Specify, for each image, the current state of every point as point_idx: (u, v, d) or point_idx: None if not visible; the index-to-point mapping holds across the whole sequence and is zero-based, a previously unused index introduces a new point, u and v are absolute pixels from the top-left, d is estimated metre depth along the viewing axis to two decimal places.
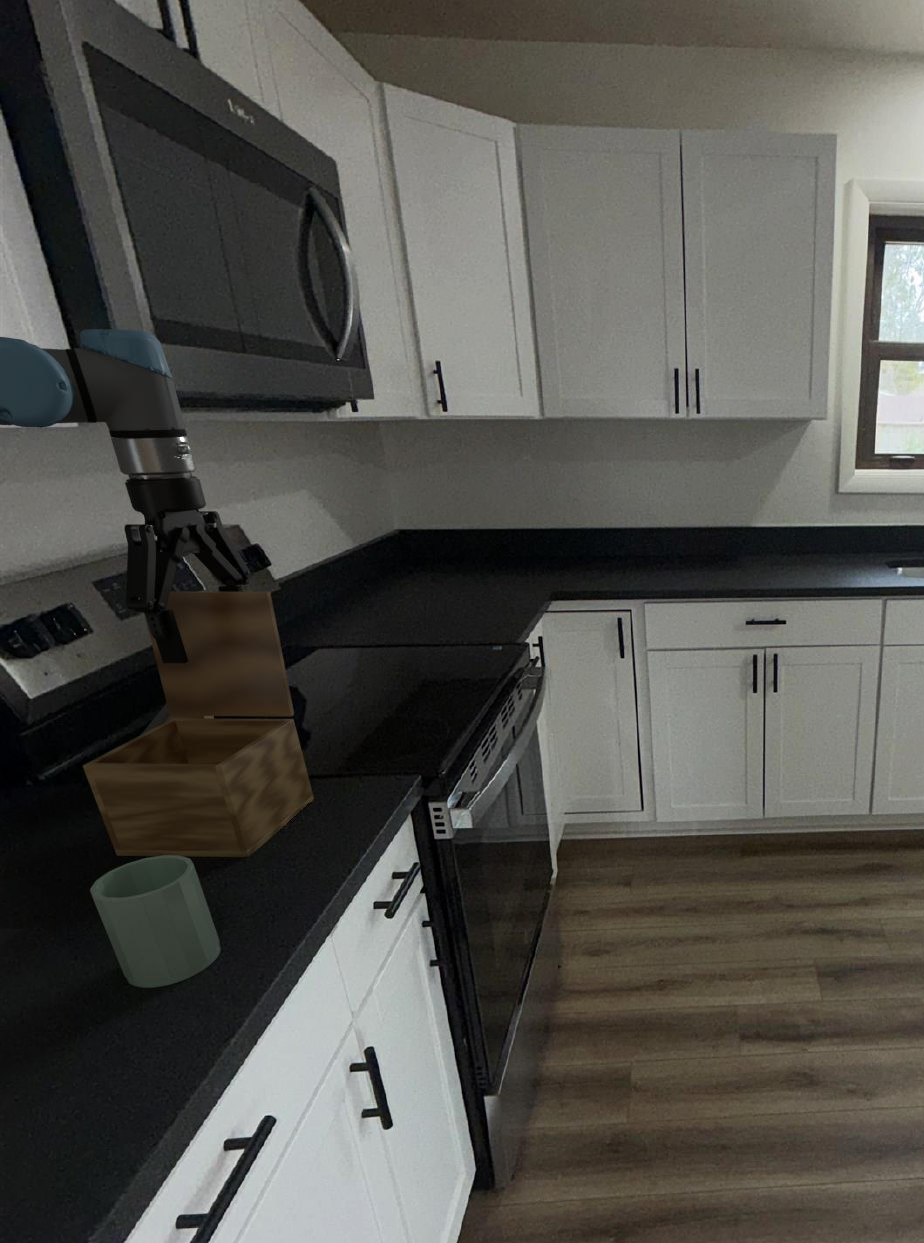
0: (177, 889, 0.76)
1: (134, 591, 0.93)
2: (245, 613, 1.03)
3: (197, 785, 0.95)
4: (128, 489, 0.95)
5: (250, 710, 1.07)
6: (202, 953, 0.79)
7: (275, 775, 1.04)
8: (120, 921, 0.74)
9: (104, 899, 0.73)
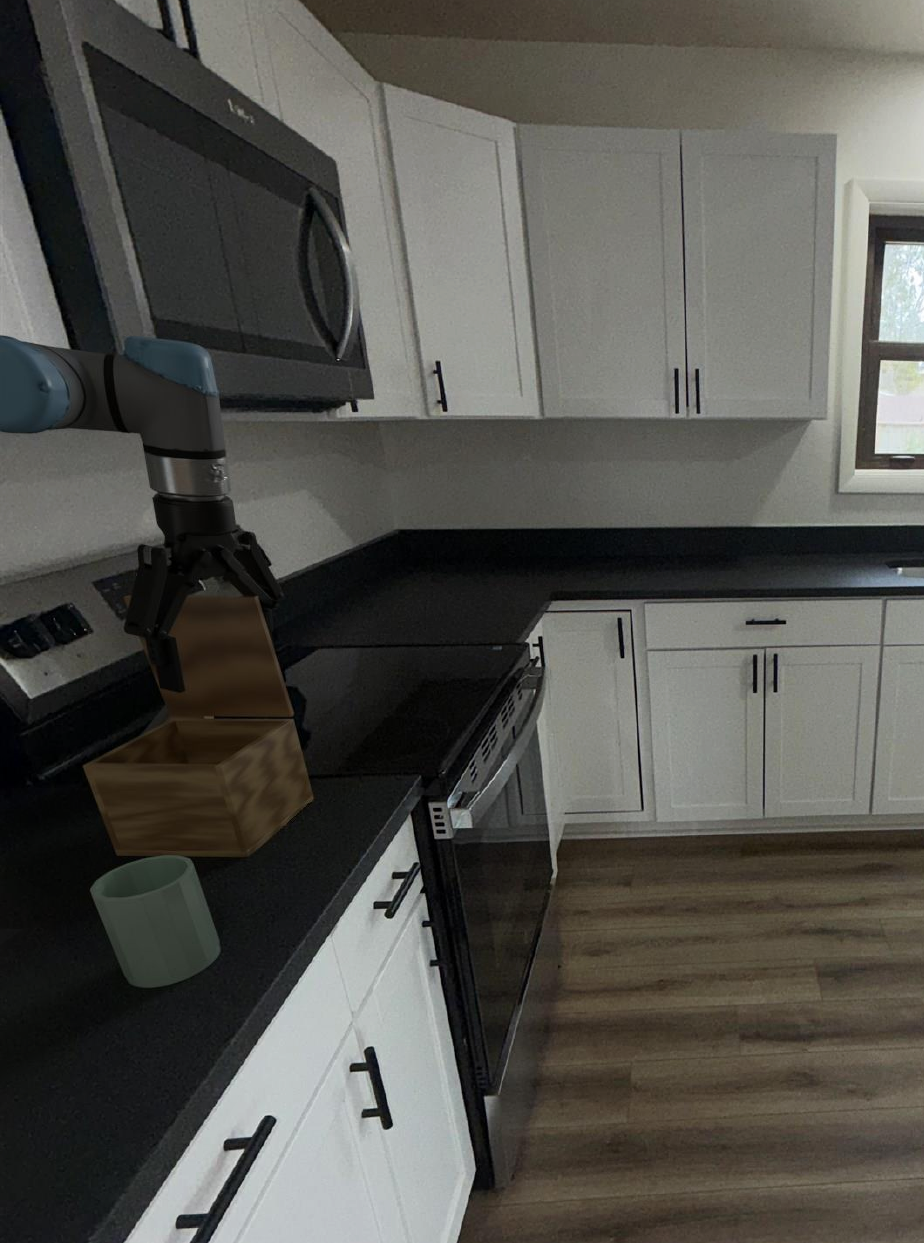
0: (177, 889, 0.76)
1: (134, 616, 0.87)
2: (235, 618, 1.01)
3: (197, 785, 0.95)
4: None
5: (250, 711, 1.07)
6: (202, 953, 0.79)
7: (275, 775, 1.04)
8: (120, 921, 0.74)
9: (104, 899, 0.73)
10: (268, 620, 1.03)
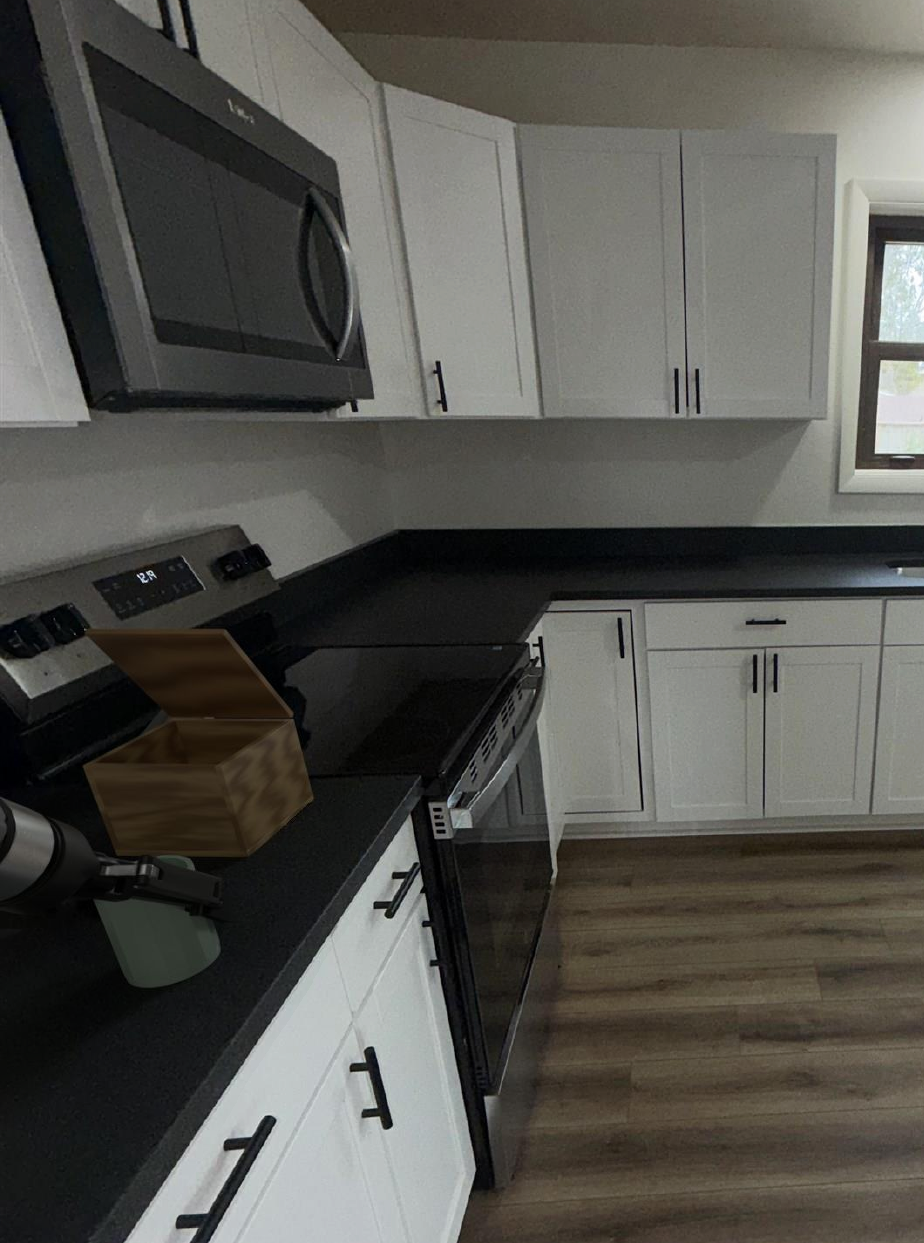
0: None
1: None
2: (208, 649, 0.96)
3: (197, 785, 0.95)
4: None
5: (249, 714, 1.07)
6: (202, 953, 0.79)
7: (275, 775, 1.04)
8: (120, 921, 0.74)
9: None
10: None
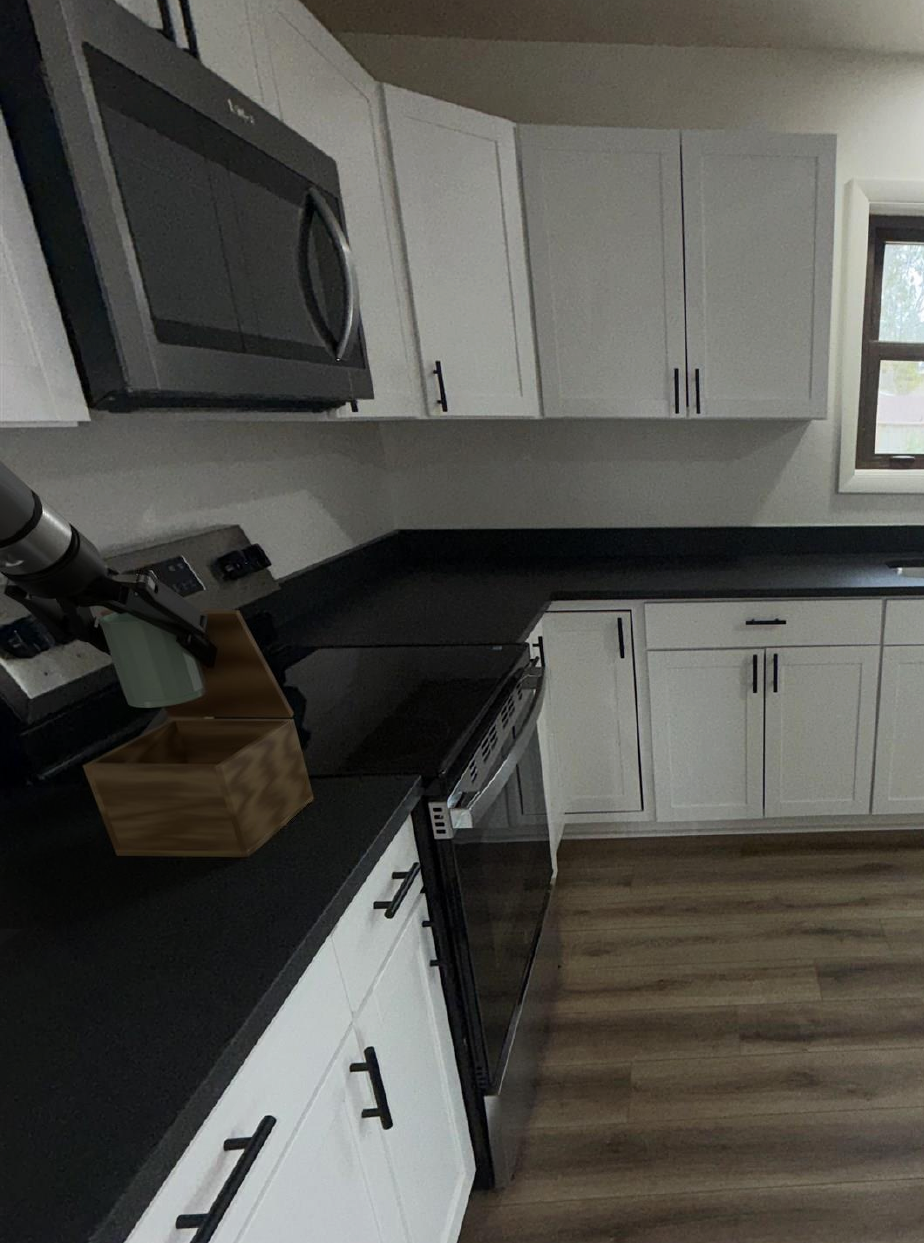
0: None
1: None
2: (219, 632, 0.98)
3: (197, 785, 0.95)
4: None
5: (249, 712, 1.07)
6: (191, 685, 0.95)
7: (275, 775, 1.04)
8: (123, 643, 0.90)
9: (110, 623, 0.89)
10: (186, 646, 0.93)
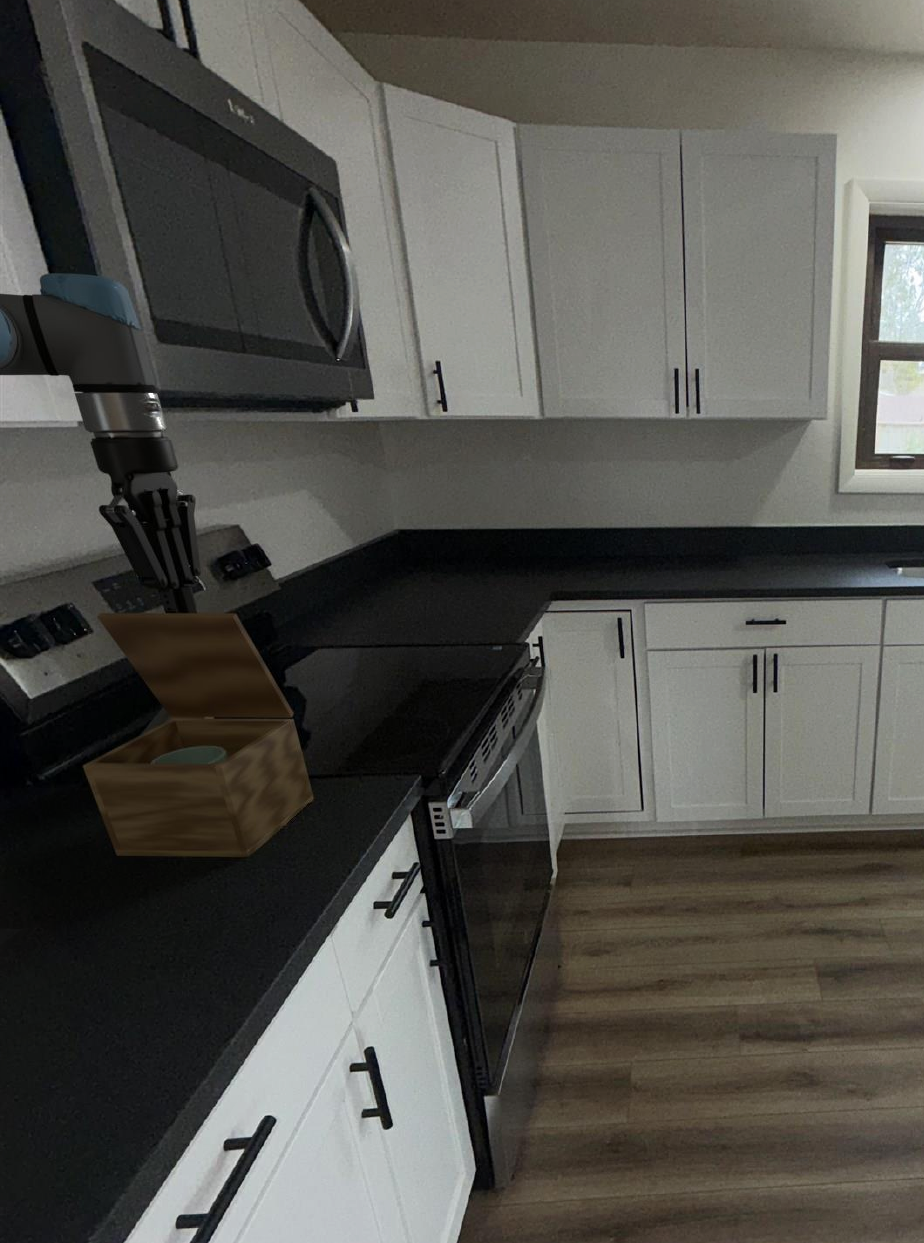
0: None
1: (143, 572, 0.93)
2: (217, 635, 0.98)
3: (197, 785, 0.95)
4: (93, 449, 0.89)
5: (249, 713, 1.07)
6: None
7: (275, 775, 1.04)
8: None
9: None
10: (191, 596, 0.99)
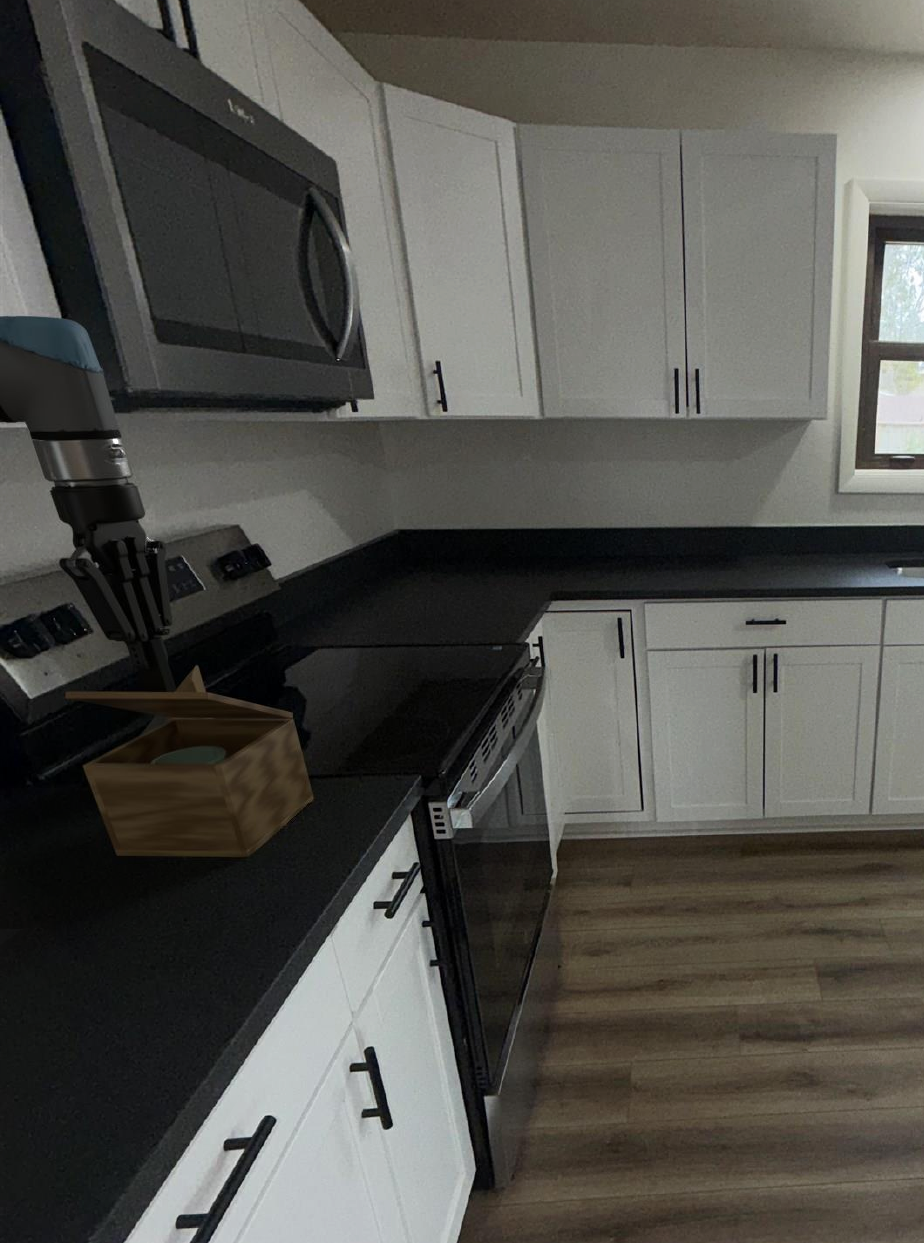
0: None
1: (108, 626, 0.88)
2: (195, 702, 0.94)
3: (197, 785, 0.95)
4: (53, 498, 0.84)
5: (249, 717, 1.07)
6: None
7: (275, 775, 1.04)
8: None
9: None
10: (161, 648, 0.94)
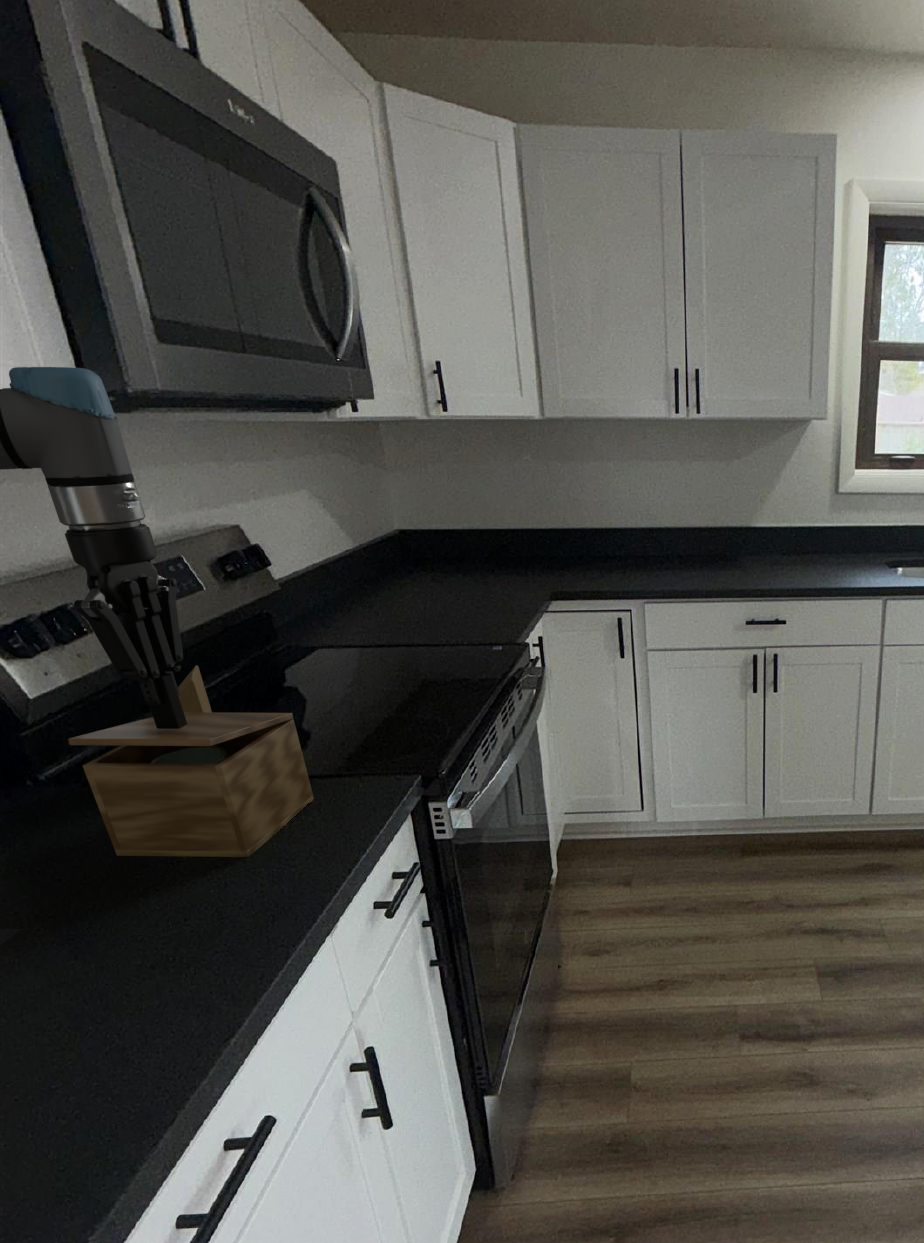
0: None
1: (121, 664, 0.90)
2: None
3: (197, 785, 0.95)
4: (67, 541, 0.85)
5: None
6: None
7: (275, 775, 1.04)
8: None
9: None
10: (172, 684, 0.95)
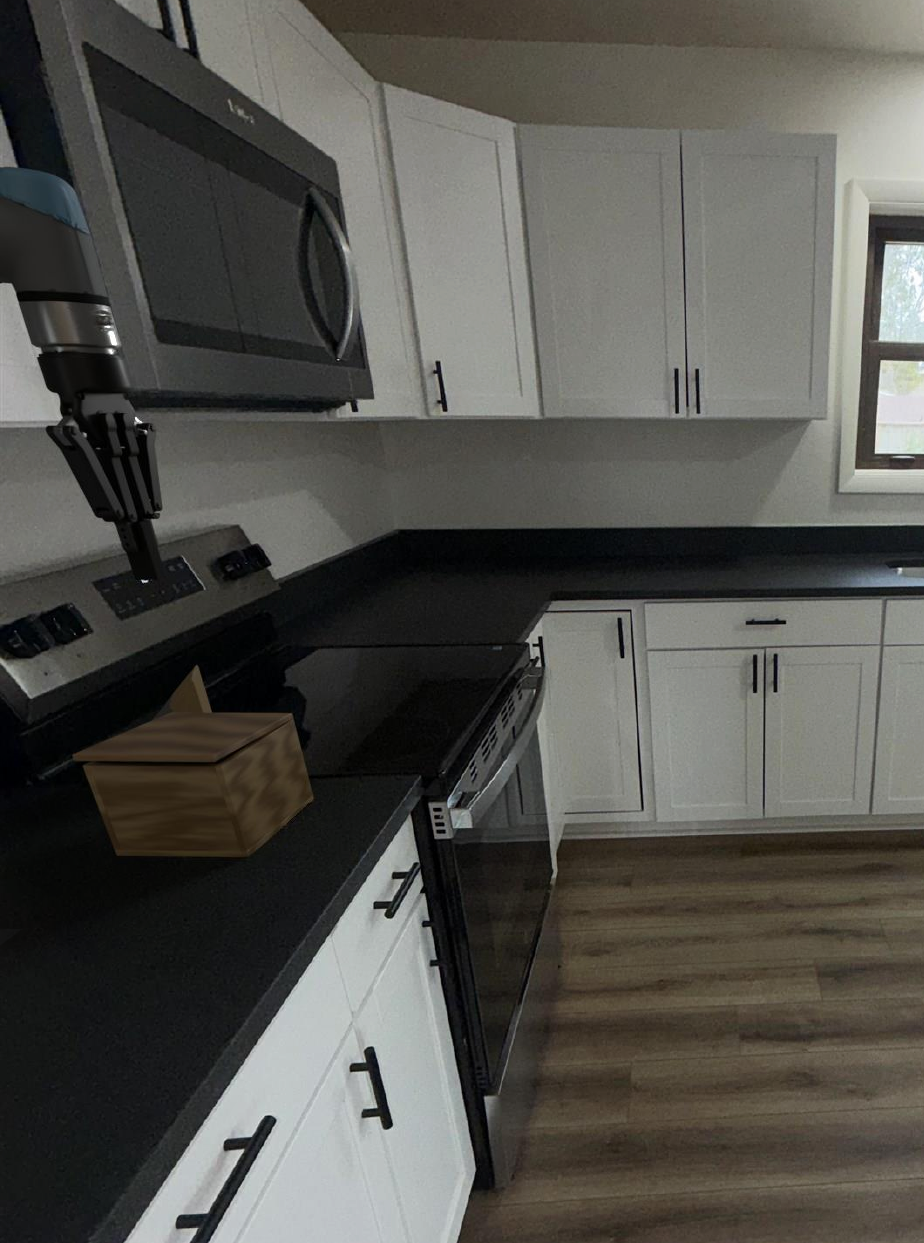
0: None
1: (96, 502, 0.86)
2: None
3: (197, 785, 0.95)
4: (40, 365, 0.82)
5: None
6: None
7: (275, 775, 1.04)
8: None
9: None
10: (151, 532, 0.92)
